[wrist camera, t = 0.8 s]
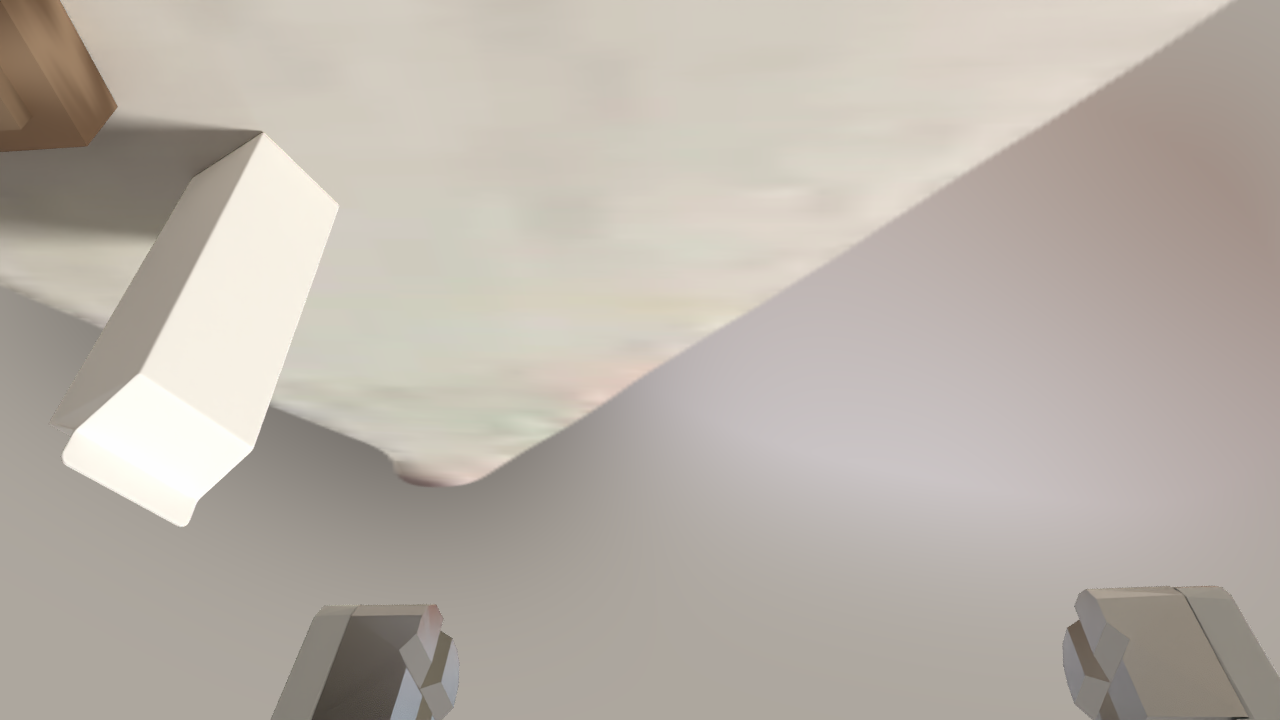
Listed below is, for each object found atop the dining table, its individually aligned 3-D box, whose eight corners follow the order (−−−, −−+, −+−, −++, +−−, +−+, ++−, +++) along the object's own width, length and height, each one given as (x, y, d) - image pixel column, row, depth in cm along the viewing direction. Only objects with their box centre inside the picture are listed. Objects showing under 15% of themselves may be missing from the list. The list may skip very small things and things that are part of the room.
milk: (264, 129, 47) (107, 430, 32) (342, 205, 51) (236, 507, 36) (189, 178, 49) (8, 484, 34) (270, 248, 53) (140, 551, 38)
